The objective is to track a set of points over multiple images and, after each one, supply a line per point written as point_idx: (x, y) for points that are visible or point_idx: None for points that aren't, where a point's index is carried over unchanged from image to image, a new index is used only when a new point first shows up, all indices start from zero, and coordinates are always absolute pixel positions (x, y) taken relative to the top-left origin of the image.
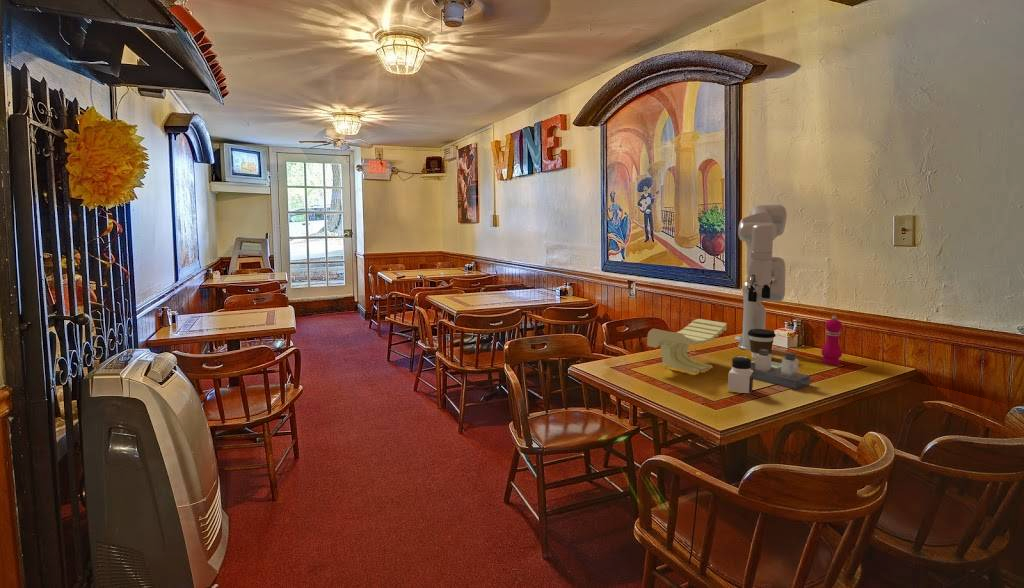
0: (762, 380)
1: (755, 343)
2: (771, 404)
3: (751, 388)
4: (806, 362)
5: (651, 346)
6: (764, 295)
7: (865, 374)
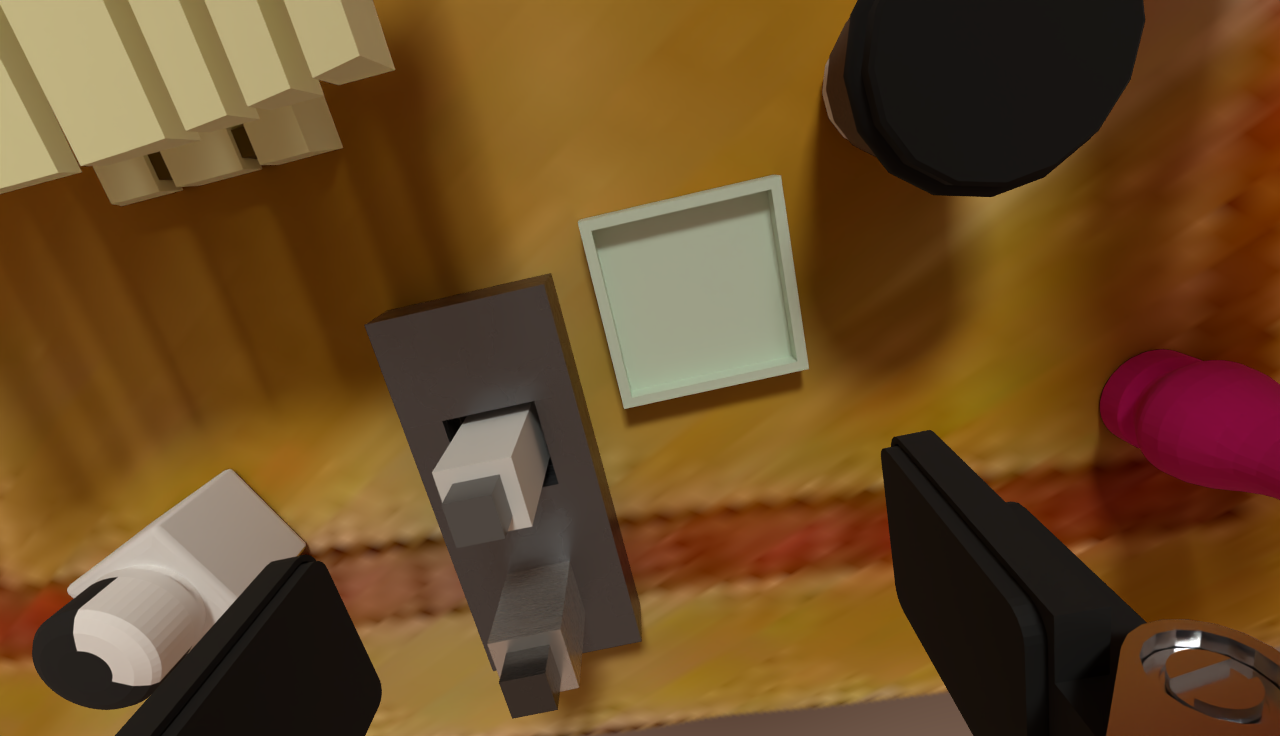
0: None
1: (842, 90)
2: None
3: None
4: (1053, 310)
5: None
6: (910, 548)
7: None
